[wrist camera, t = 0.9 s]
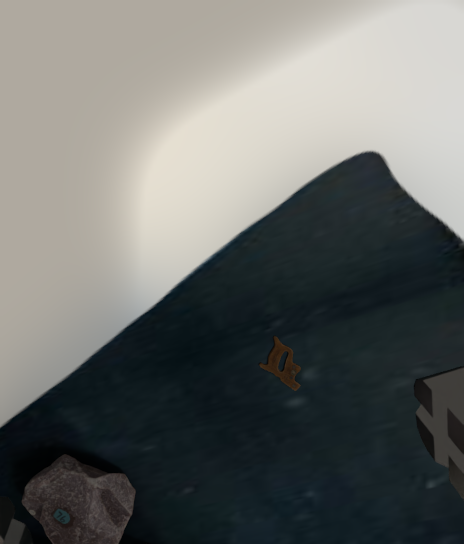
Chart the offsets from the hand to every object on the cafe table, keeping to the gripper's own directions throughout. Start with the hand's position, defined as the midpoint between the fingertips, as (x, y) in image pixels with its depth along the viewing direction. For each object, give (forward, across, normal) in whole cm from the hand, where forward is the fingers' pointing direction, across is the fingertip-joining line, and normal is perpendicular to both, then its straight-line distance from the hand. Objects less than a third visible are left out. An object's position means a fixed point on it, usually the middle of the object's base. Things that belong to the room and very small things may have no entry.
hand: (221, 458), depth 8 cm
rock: (+36, -22, -36) cm, 55 cm away
